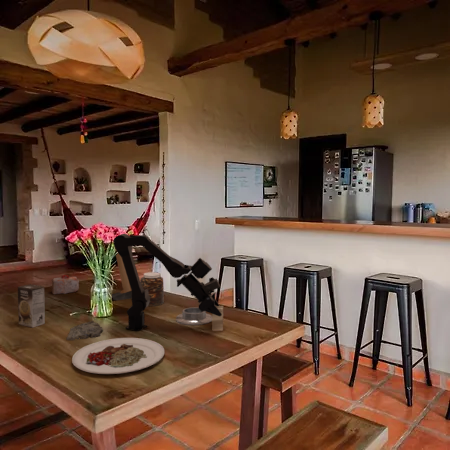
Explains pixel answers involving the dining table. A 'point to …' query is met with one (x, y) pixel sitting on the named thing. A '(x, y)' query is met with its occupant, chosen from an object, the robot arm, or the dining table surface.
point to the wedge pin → (217, 320)
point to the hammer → (123, 282)
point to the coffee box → (31, 305)
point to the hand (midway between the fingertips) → (221, 313)
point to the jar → (153, 287)
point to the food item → (65, 285)
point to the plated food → (118, 355)
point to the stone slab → (85, 331)
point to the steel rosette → (193, 317)
